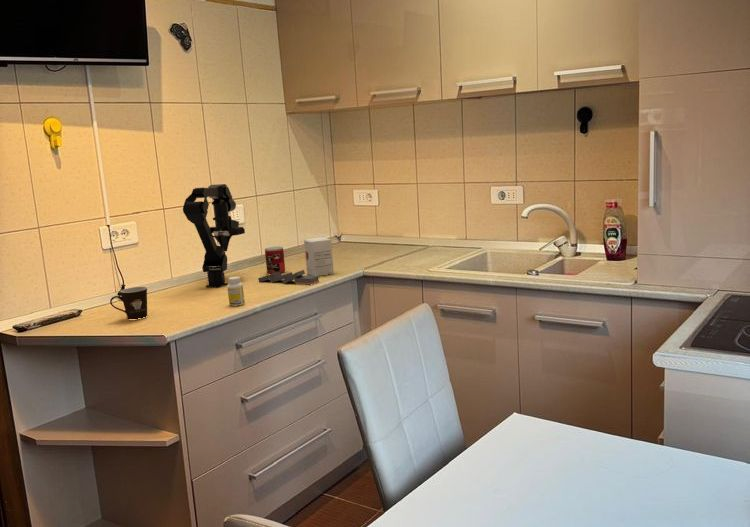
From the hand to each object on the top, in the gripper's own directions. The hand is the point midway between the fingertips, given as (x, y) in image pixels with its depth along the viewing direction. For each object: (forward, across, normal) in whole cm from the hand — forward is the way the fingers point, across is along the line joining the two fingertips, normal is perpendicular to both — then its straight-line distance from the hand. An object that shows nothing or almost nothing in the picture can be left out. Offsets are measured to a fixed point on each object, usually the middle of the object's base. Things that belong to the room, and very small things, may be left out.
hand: (225, 251), depth 294 cm
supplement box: (+12, -36, -16) cm, 41 cm away
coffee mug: (+12, -9, +61) cm, 63 cm away
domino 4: (+10, -36, 0) cm, 38 cm away
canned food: (+12, -14, -15) cm, 24 cm away
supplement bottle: (+12, -34, +36) cm, 51 cm away
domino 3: (+11, -31, +1) cm, 33 cm away
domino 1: (+11, -18, 0) cm, 21 cm away
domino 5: (+12, -36, 0) cm, 38 cm away
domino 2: (+11, -24, 0) cm, 26 cm away
